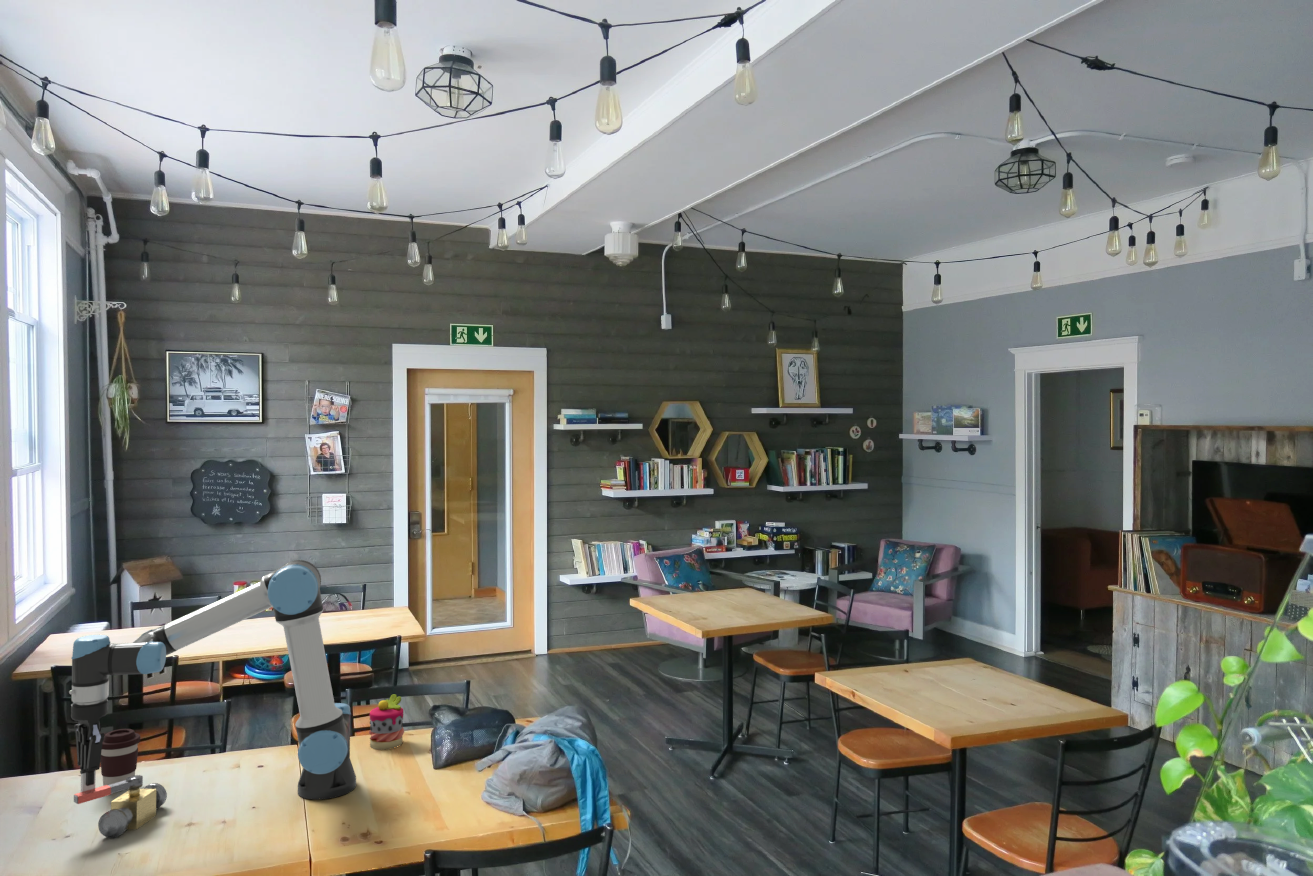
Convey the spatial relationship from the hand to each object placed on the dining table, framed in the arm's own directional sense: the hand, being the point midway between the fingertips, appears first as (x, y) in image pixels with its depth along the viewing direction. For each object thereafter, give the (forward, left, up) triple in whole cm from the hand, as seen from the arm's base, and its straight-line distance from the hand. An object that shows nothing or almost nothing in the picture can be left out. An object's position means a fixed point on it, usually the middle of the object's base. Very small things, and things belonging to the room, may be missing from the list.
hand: (87, 797), depth 207 cm
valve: (-7, -7, -9) cm, 13 cm away
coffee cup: (+11, -29, -9) cm, 32 cm away
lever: (-4, -2, 0) cm, 5 cm away
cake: (-52, -64, -9) cm, 83 cm away
